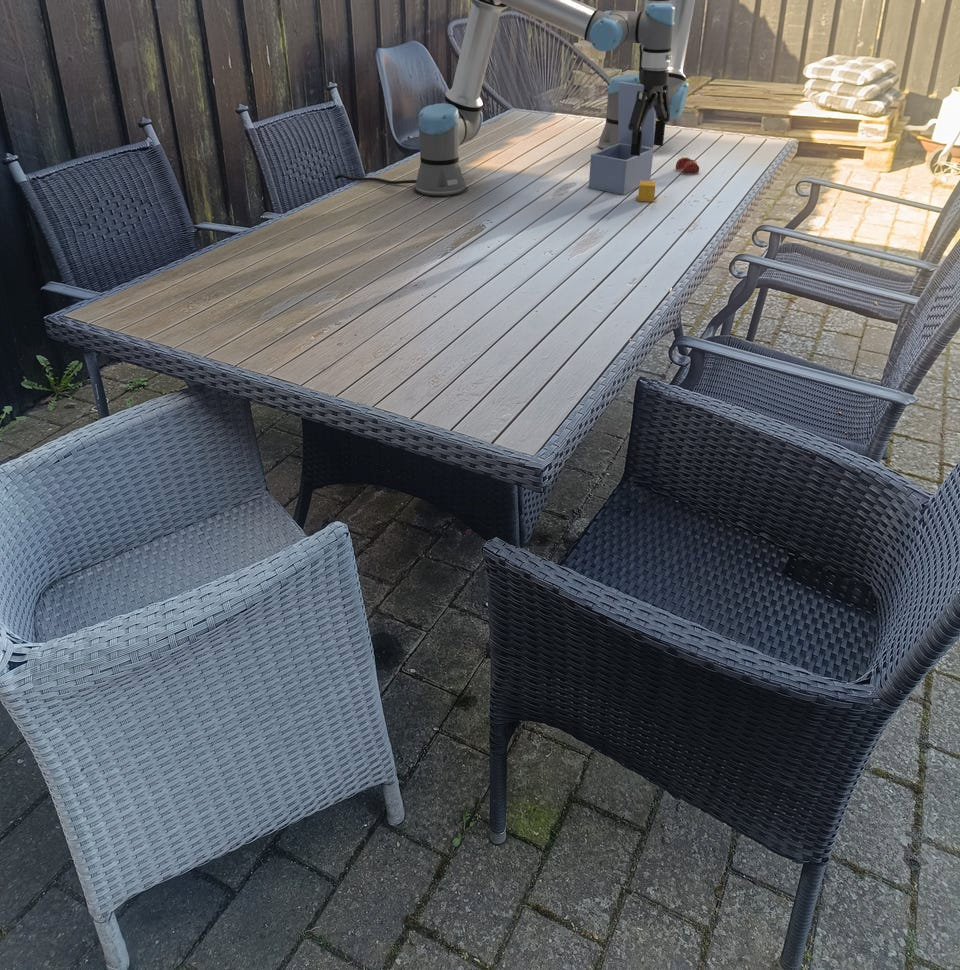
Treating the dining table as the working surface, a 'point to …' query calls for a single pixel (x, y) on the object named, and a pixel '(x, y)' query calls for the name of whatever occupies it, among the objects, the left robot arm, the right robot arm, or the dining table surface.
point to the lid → (625, 109)
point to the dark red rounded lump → (687, 165)
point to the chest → (619, 168)
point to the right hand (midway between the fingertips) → (646, 103)
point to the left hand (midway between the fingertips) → (646, 150)
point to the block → (647, 191)
